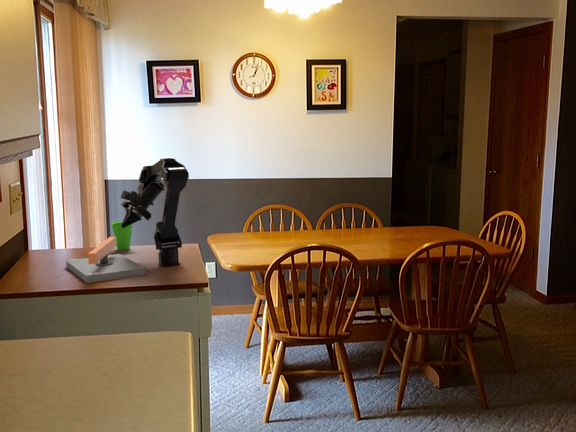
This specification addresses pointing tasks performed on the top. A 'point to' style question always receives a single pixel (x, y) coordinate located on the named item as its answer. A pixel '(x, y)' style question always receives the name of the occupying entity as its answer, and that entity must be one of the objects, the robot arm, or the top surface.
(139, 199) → the robot arm
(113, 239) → the handle
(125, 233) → the cup
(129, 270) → the panel
